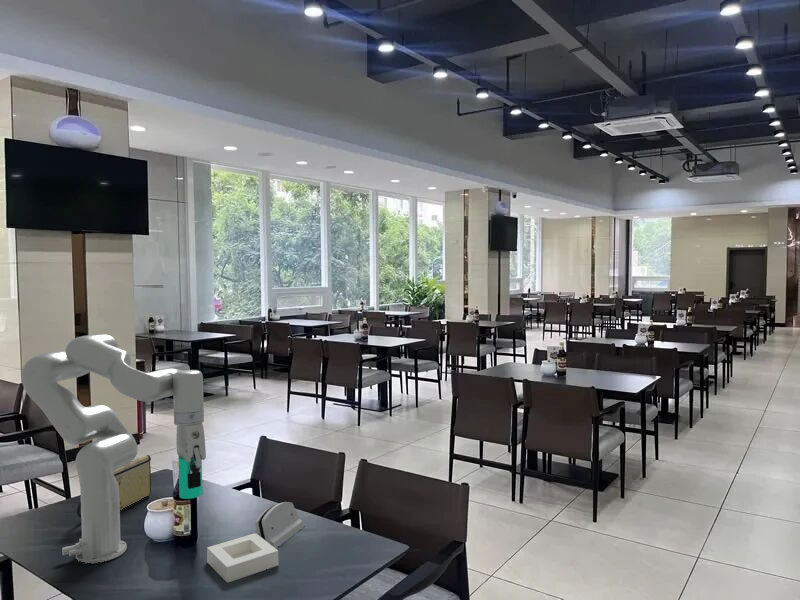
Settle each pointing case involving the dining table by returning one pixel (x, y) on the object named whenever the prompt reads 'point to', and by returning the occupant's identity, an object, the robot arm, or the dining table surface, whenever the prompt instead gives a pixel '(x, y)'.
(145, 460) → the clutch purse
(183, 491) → the candle
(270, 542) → the hinge
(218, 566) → the candle holder
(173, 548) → the dining table surface
